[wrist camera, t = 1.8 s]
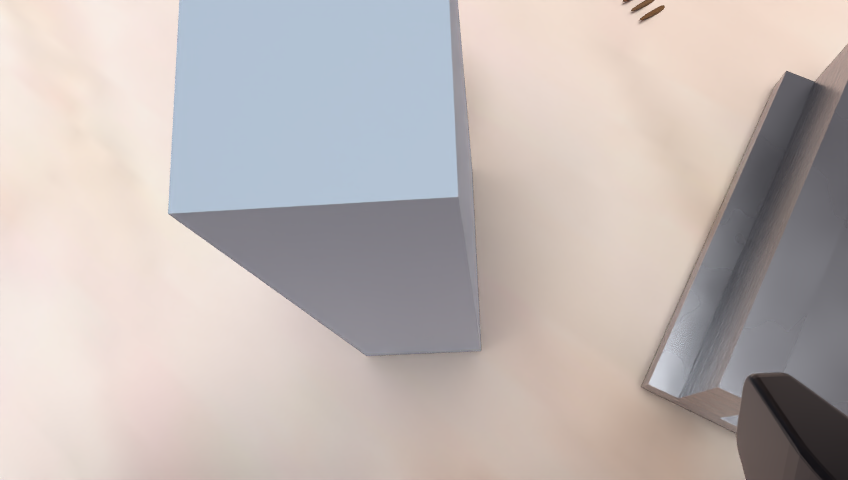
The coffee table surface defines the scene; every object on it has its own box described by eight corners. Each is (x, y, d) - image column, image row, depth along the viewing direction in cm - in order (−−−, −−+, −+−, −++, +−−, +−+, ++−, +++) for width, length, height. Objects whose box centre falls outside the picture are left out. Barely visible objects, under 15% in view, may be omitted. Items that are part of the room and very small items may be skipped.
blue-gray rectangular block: (481, 350, 20) (458, 197, 8) (366, 355, 21) (167, 213, 8) (472, 168, 22) (439, -211, 9) (364, 175, 22) (189, -187, 9)
